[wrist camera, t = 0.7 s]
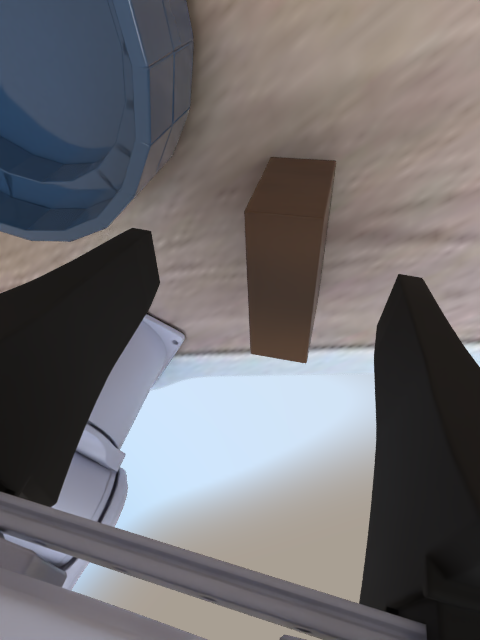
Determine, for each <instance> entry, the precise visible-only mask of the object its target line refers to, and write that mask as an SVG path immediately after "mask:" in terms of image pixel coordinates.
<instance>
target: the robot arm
mask: <svg viewBox="0 0 480 640" xmlns="http://www.w3.org/2000/svg"><path fill="white" fill-rule="evenodd" d="M159 285H160V280H159V274H158V268H157V262H156V256H155V251H154V245H153V239H152V233H151V231H147V230H141V229H136V228H131V229H129V230H127V231H125V232H123V233H121V234H119V235H118V236H116V237H114V238H112V239H110V240H109V241H107V242H105V243H103V244H101V245H100V246H98V247H96V248H94V249H93V250H91V251H89V252H87V253H85V254H84V255H82V256H80V257H78V258H76V259H75V260H73V261H71V262H69V263H67V264H65V265H63V266H61V267H59V268H57V269H55V270H53V271H51V272H49V273H47V274H45V275H43V276H41V277H39V278H37V279H35V280H32V281H30V282H28V283H25V284H23V285H21V286H18V287H16V288H13V289H11V290H8V291H6V292H3V293H1V294H0V640H207V639H204V638H202V637H199V636H197V635H194V634H191V633H189V632H186V631H183V630H180V629H178V628H175V627H172V626H170V625H167V624H164V623H161V622H158V621H156V620H153V619H150V618H147V617H145V616H141V615H139V614H136V613H133V612H131V611H128V610H125V609H122V608H119V607H117V606H114V605H111V604H108V603H105V602H102V601H99V600H96V599H93V598H91V597H88V596H85V595H82V594H79V593H76V592H73V591H71V590H72V588H73V586H74V585H75V583H76V581H77V580H78V578H79V577H80V575H81V574H82V572H83V571H84V569H85V568H86V566H87V565H88V564H89V562H91V563H94V564H97V565H100V566H103V567H106V568H109V569H112V570H115V571H118V572H121V573H124V574H127V575H130V576H133V577H136V578H139V579H142V580H145V581H148V582H151V583H155V584H157V585H161V586H163V587H166V588H170V589H172V590H176V591H178V592H181V593H184V594H187V595H190V596H193V597H197V598H199V599H202V600H205V601H208V602H212V603H215V604H217V605H221V606H224V607H227V608H229V609H233V610H235V611H239V612H242V613H244V614H248V615H250V616H254V617H256V618H259V619H263V620H266V621H269V622H272V623H275V624H278V625H281V626H284V627H287V628H290V629H293V630H296V631H299V632H302V633H305V634H308V635H311V636H314V637H317V638H320V639H323V640H480V367H479V366H478V364H477V363H476V362H475V360H474V359H473V358H472V356H471V355H470V354H469V352H468V351H467V350H466V348H465V347H464V345H463V344H462V342H461V341H460V339H459V338H458V336H457V335H456V333H455V332H454V330H453V329H452V327H451V325H450V324H449V322H448V321H447V319H446V317H445V316H444V314H443V312H442V311H441V309H440V307H439V306H438V304H437V302H436V301H435V299H434V297H433V295H432V294H431V292H430V290H429V289H428V287H427V285H426V283H425V282H424V280H423V279H422V278H419V277H413V276H407V275H402V274H398V277H397V279H396V281H395V284H394V286H393V289H392V291H391V293H390V296H389V298H388V301H387V303H386V305H385V308H384V310H383V313H382V315H381V317H380V320H379V322H378V325H377V331H376V341H375V351H374V373H375V400H376V423H377V424H376V425H377V426H376V428H377V429H376V454H375V466H374V467H375V468H374V479H373V490H372V502H371V512H370V521H369V531H368V540H367V548H366V556H365V565H364V572H363V581H362V588H361V595H360V602H359V604H358V603H355V602H351V601H348V600H346V599H342V598H339V597H336V596H333V595H329V594H326V593H323V592H320V591H317V590H313V589H310V588H307V587H304V586H301V585H297V584H294V583H291V582H288V581H285V580H281V579H278V578H275V577H272V576H269V575H265V574H262V573H259V572H256V571H252V570H249V569H246V568H243V567H240V566H237V565H233V564H230V563H227V562H224V561H221V560H217V559H214V558H211V557H208V556H205V555H201V554H198V553H195V552H192V551H189V550H185V549H182V548H179V547H175V546H172V545H169V544H166V543H163V542H160V541H157V540H153V539H150V538H147V537H144V536H141V535H137V534H134V533H131V532H128V531H125V530H121V529H118V528H115V525H116V523H117V521H118V518H119V516H120V513H121V511H122V509H123V506H124V503H125V500H126V496H127V489H128V485H127V475H126V471H125V470H124V469H123V468H120V465H121V463H122V461H123V459H124V457H125V453H123V452H122V451H120V448H121V446H122V444H123V442H124V440H125V438H126V436H127V434H128V432H129V430H130V428H131V427H132V425H133V423H134V420H135V418H136V417H137V414H138V413H139V410H140V408H141V407H142V404H143V402H144V401H145V399H146V397H147V395H148V393H149V391H150V389H151V388H152V387H153V386H154V384H155V383H156V381H157V380H158V378H159V377H160V375H161V374H162V372H163V371H164V369H165V368H166V367H167V365H168V364H169V362H170V361H171V359H172V358H173V356H174V355H175V353H176V352H177V350H178V349H179V347H180V346H181V344H182V343H183V341H184V339H185V336H184V334H183V333H181V332H179V331H177V330H176V329H174V328H172V327H170V326H168V325H166V324H164V323H162V322H161V321H159V320H157V319H155V318H153V317H151V316H149V315H148V314H146V313H147V312H148V310H149V308H150V306H151V304H152V301H153V299H154V297H155V294H156V292H157V289H158V287H159ZM280 640H305V639H301V638H297V637H293V636H288V635H283V636H282V637H281V638H280Z"/></svg>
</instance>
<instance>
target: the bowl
mask: <svg viewBox="0 0 480 640" xmlns="http://www.w3.org/2000/svg"><path fill="white" fill-rule="evenodd" d="M193 49H194V42H193V32H192V27H191V22H190V17H189V12H188V6H187V1H186V0H0V232H4V233H7V234H10V235H14V236H17V237H20V238H23V239H27V240H31V241H63V242H71V241H74V240H77V239H79V238H82V237H85V236H87V235H90V234H92V233H95V232H98V231H100V230H103V229H105V228H107V227H108V226H109V225H110V224H111V223H112V222H113V221H114V220H115V219H116V218H117V217H118V215H119V214H120V213H121V212H122V211H123V210H124V209H125V208H126V207H127V206H128V204H129V203H130V202H131V201H132V200H133V199H134V198H135V197H136V196H137V195H138V193H139V192H140V191H141V190H142V189H143V188H144V187H145V186H146V185H147V184H148V182H149V181H150V180H151V179H152V178H153V177H154V176H155V175H156V174H157V173H158V171H159V170H160V169H161V168H162V167H163V166H164V165H165V164H166V163H167V162H168V160H169V159H170V158H171V157H172V155H173V154H174V151H175V149H176V146H177V143H178V141H179V138H180V135H181V132H182V130H183V127H184V124H185V122H186V119H187V116H188V114H189V111H190V106H191V87H192V68H193Z"/></svg>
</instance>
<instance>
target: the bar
mask: <svg viewBox="0 0 480 640" xmlns="http://www.w3.org/2000/svg"><path fill="white" fill-rule="evenodd" d="M335 167H336V161H327V160H311V159H294V158H277V157H271V158H270V160H269V162H268V164H267V166H266V168H265V170H264V172H263V175H262V177H261V179H260V181H259V183H258V185H257V187H256V189H255V191H254V193H253V195H252V197H251V199H250V201H249V203H248V205H247V207H246V209H245V211H244V216H245V238H246V260H247V282H248V304H249V326H250V348H251V354H255V355H261V356H266V357H272V358H278V359H284V360H289V361H295V362H301V363H306V362H307V358H308V353H309V347H310V341H311V336H312V330H313V325H314V319H315V314H316V308H317V303H318V296H319V288H320V281H321V273H322V266H323V258H324V251H325V243H326V235H327V228H328V220H329V213H330V205H331V198H332V190H333V182H334V175H335Z"/></svg>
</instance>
